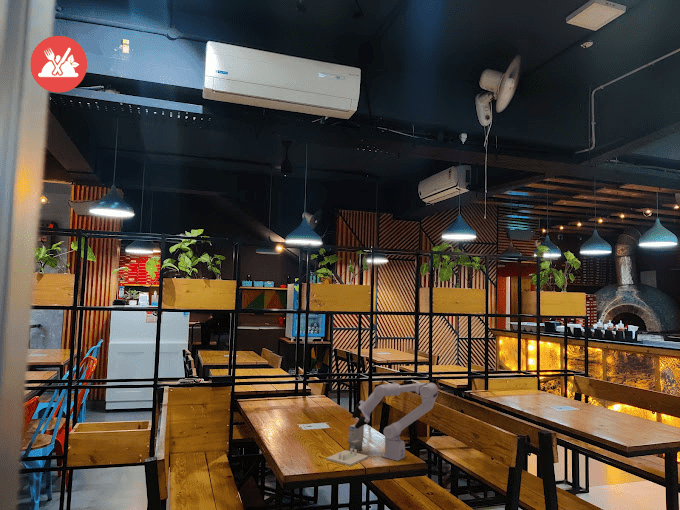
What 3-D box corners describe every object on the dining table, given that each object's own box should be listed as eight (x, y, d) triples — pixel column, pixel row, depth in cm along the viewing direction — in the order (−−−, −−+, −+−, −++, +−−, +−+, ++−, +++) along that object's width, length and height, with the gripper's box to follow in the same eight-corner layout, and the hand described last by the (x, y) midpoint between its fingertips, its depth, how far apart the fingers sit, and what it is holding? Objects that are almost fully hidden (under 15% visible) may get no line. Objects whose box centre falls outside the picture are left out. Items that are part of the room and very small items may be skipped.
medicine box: (357, 439, 276) (357, 423, 277) (363, 440, 273) (363, 424, 274) (348, 442, 270) (348, 425, 271) (354, 444, 267) (355, 427, 268)
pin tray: (368, 457, 244) (368, 450, 245) (350, 466, 231) (350, 458, 232) (345, 452, 253) (345, 444, 253) (326, 460, 239) (326, 452, 240)
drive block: (362, 450, 257) (362, 440, 257) (354, 453, 251) (354, 443, 251) (356, 448, 259) (356, 438, 259) (348, 452, 253) (349, 441, 253)
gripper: (361, 391, 260) (346, 410, 263) (367, 410, 247) (351, 429, 250) (372, 396, 263) (356, 415, 266) (378, 415, 249) (362, 434, 253)
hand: (354, 422), depth 258 cm, fingers open, 7 cm apart
